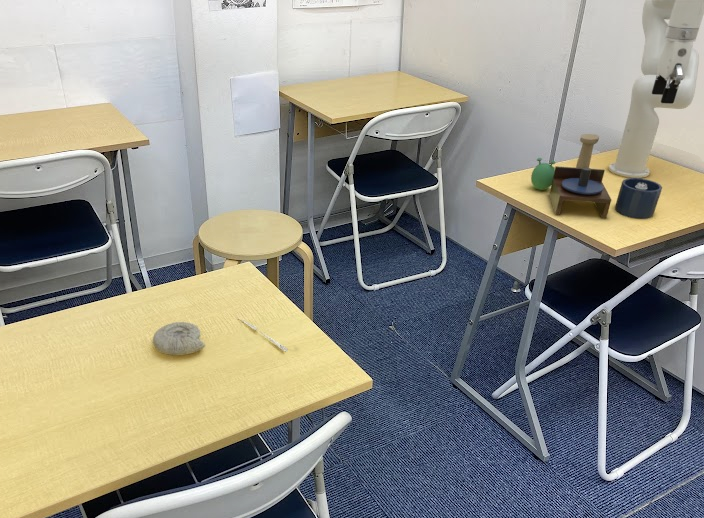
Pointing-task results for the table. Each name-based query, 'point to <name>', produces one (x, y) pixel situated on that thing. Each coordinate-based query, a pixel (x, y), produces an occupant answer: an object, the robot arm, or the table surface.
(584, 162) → the handle
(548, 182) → the alien toy
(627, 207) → the pot
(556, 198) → the shelf
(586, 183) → the lid
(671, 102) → the robot arm
